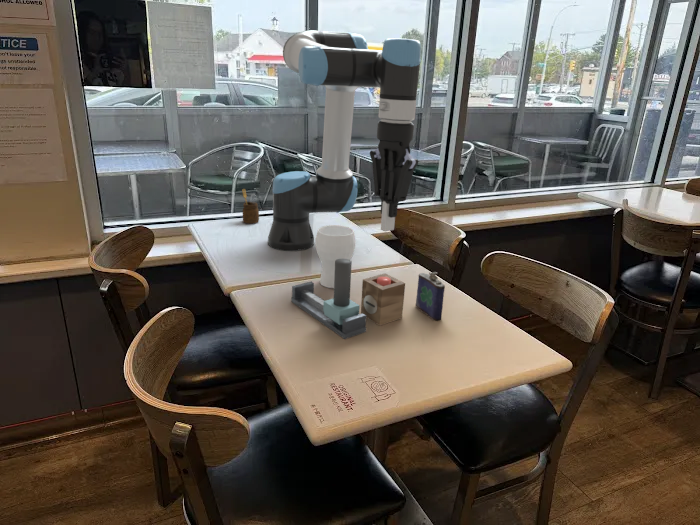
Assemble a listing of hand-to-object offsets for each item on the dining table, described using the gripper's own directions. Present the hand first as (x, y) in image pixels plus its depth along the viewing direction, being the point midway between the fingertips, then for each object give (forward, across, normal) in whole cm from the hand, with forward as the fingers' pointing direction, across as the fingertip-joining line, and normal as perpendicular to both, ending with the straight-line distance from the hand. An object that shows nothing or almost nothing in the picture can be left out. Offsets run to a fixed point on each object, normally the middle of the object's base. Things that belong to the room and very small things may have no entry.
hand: (387, 229), depth 111 cm
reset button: (+16, 0, 0) cm, 16 cm away
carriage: (+19, -1, -11) cm, 22 cm away
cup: (+22, -21, +2) cm, 31 cm away
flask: (+22, +6, +11) cm, 25 cm away
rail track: (+22, -6, -11) cm, 25 cm away
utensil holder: (+23, -84, +9) cm, 88 cm away
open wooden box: (+22, +1, 0) cm, 22 cm away
